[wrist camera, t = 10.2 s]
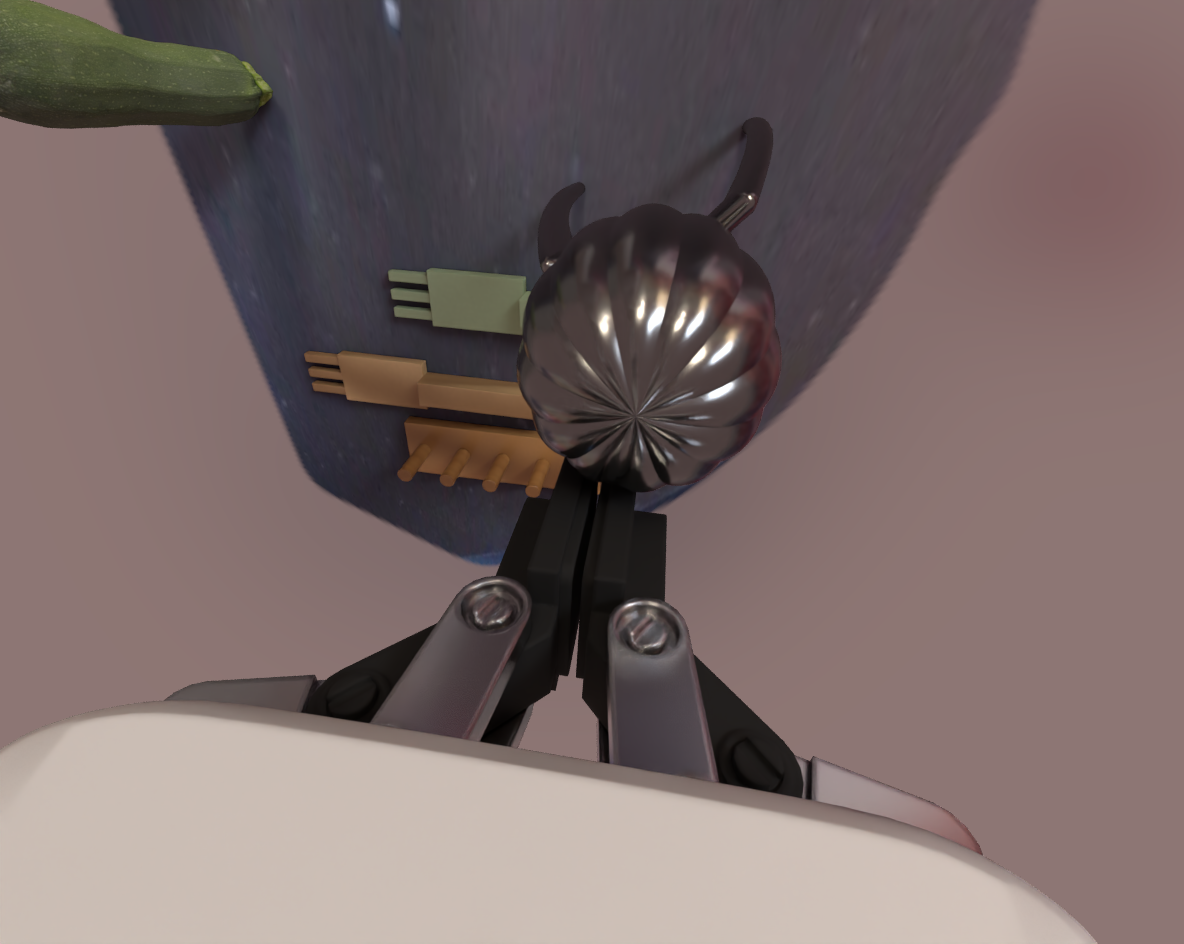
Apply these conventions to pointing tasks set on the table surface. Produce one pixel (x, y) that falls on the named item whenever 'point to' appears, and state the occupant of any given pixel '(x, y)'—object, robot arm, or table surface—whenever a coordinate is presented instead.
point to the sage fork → (464, 299)
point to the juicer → (651, 336)
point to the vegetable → (114, 76)
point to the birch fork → (414, 385)
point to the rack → (480, 454)
